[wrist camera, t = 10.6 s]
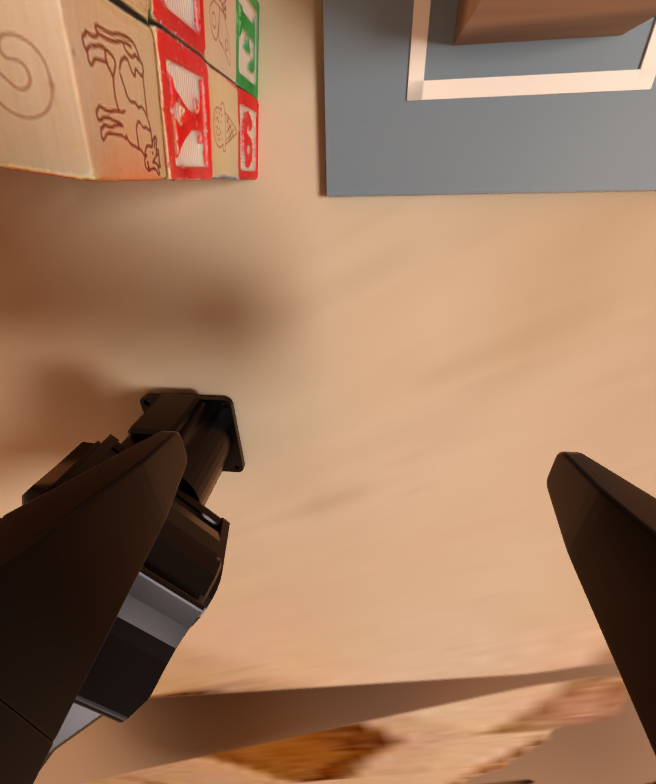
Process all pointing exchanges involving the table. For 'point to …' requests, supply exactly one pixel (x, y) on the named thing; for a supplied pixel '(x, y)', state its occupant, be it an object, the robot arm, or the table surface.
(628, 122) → the board
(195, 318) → the table surface
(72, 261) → the table surface
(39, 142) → the stack of blocks
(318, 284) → the table surface
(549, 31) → the walnut base block
